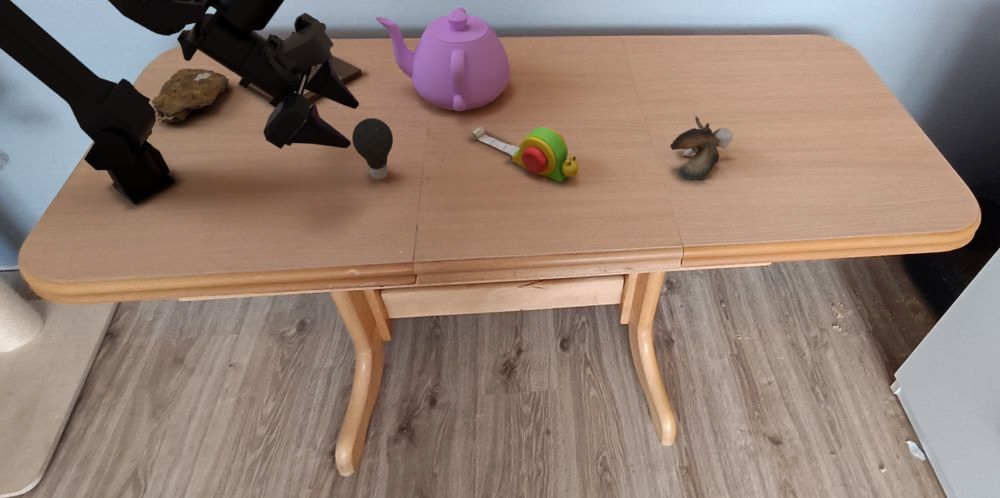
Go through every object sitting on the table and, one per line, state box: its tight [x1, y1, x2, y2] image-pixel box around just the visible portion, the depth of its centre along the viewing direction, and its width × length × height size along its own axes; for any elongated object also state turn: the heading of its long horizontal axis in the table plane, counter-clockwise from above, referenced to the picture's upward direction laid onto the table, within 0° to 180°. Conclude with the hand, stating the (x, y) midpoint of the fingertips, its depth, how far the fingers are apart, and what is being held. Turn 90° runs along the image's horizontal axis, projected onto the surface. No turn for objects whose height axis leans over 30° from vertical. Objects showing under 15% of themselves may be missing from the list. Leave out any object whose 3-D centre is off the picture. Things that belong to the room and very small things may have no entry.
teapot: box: [375, 7, 511, 112], centre depth 99 cm, size 22×22×14 cm
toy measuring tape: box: [470, 126, 580, 183], centre depth 88 cm, size 6×20×7 cm, turn 51°
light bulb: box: [351, 117, 394, 180], centre depth 84 cm, size 6×6×10 cm
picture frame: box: [246, 55, 363, 105], centre depth 106 cm, size 16×14×1 cm
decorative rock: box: [151, 68, 230, 124], centre depth 100 cm, size 11×4×15 cm
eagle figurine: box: [669, 115, 734, 181], centre depth 88 cm, size 8×7×9 cm
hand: (353, 125), depth 80 cm, fingers open, 9 cm apart
